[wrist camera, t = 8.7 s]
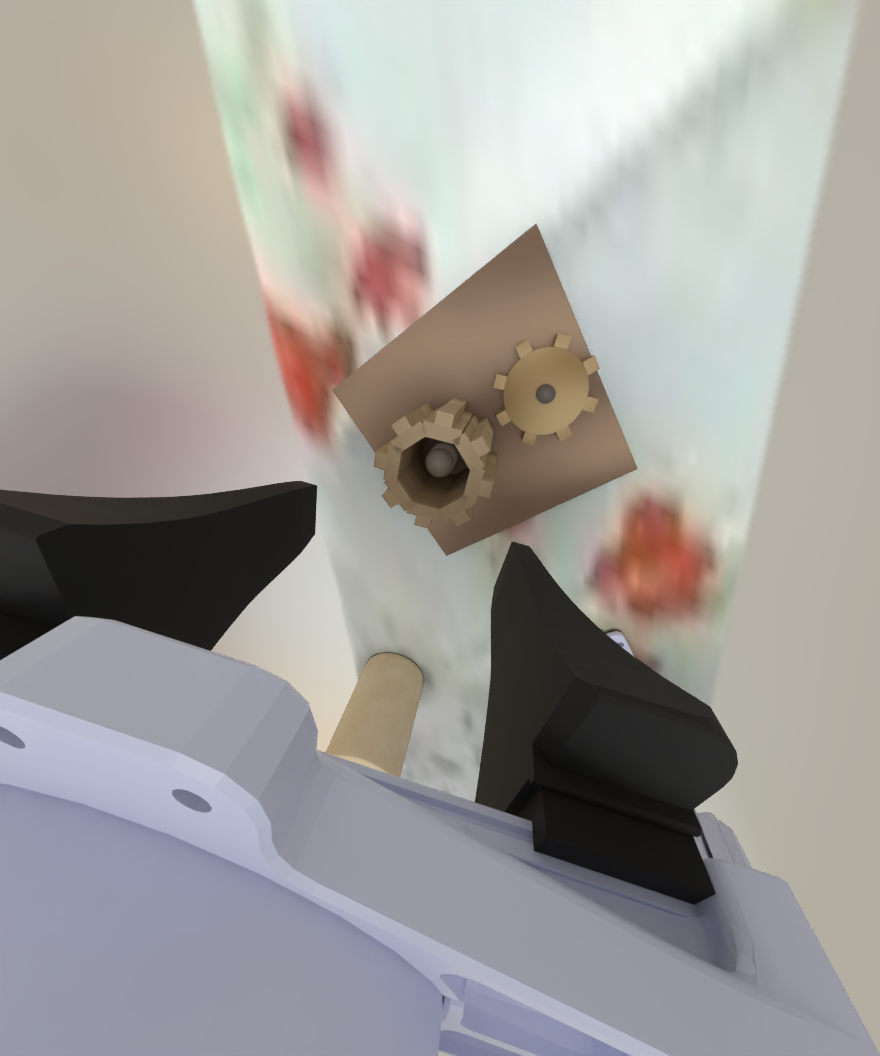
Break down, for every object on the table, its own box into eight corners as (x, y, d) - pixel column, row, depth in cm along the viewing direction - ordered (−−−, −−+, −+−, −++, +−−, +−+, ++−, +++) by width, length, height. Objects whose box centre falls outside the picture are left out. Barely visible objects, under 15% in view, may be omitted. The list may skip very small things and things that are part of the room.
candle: (383, 642, 28) (328, 770, 19) (435, 674, 29) (405, 812, 20) (355, 673, 31) (296, 798, 22) (404, 702, 31) (366, 835, 23)
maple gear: (513, 463, 18) (516, 497, 14) (436, 505, 20) (417, 545, 16) (465, 377, 17) (451, 383, 12) (387, 430, 19) (351, 452, 14)
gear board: (631, 463, 18) (669, 495, 14) (448, 548, 23) (435, 591, 18) (534, 231, 14) (546, 178, 10) (340, 388, 19) (292, 396, 15)
